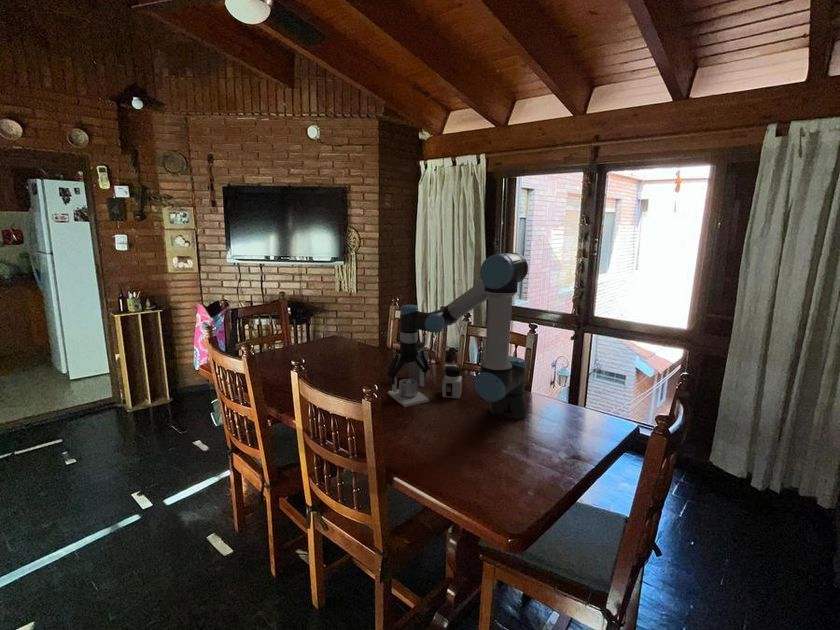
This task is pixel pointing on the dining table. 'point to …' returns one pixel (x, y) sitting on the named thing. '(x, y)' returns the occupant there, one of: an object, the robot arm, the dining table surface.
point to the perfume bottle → (414, 368)
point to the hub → (408, 387)
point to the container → (452, 382)
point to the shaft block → (408, 398)
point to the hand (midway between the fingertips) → (408, 388)
